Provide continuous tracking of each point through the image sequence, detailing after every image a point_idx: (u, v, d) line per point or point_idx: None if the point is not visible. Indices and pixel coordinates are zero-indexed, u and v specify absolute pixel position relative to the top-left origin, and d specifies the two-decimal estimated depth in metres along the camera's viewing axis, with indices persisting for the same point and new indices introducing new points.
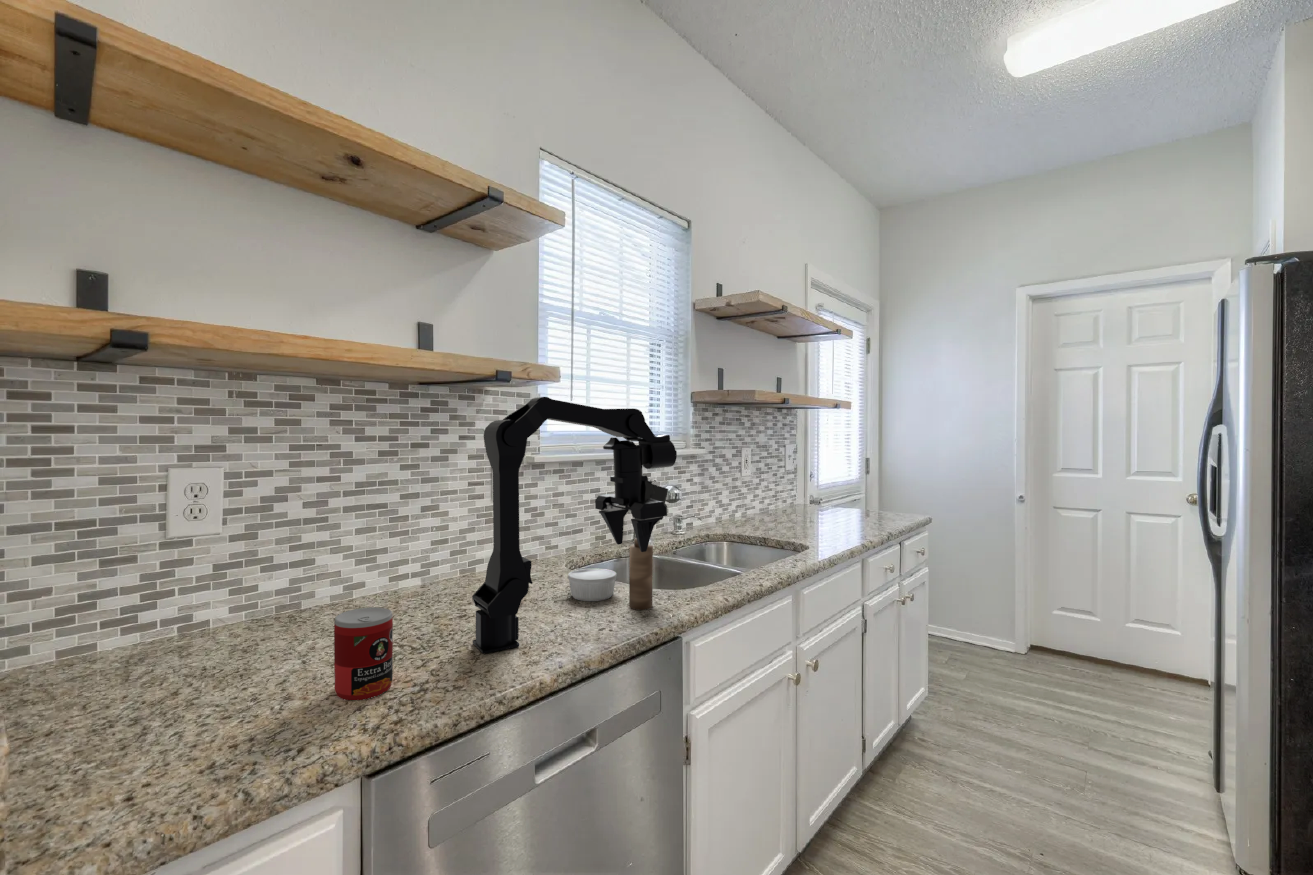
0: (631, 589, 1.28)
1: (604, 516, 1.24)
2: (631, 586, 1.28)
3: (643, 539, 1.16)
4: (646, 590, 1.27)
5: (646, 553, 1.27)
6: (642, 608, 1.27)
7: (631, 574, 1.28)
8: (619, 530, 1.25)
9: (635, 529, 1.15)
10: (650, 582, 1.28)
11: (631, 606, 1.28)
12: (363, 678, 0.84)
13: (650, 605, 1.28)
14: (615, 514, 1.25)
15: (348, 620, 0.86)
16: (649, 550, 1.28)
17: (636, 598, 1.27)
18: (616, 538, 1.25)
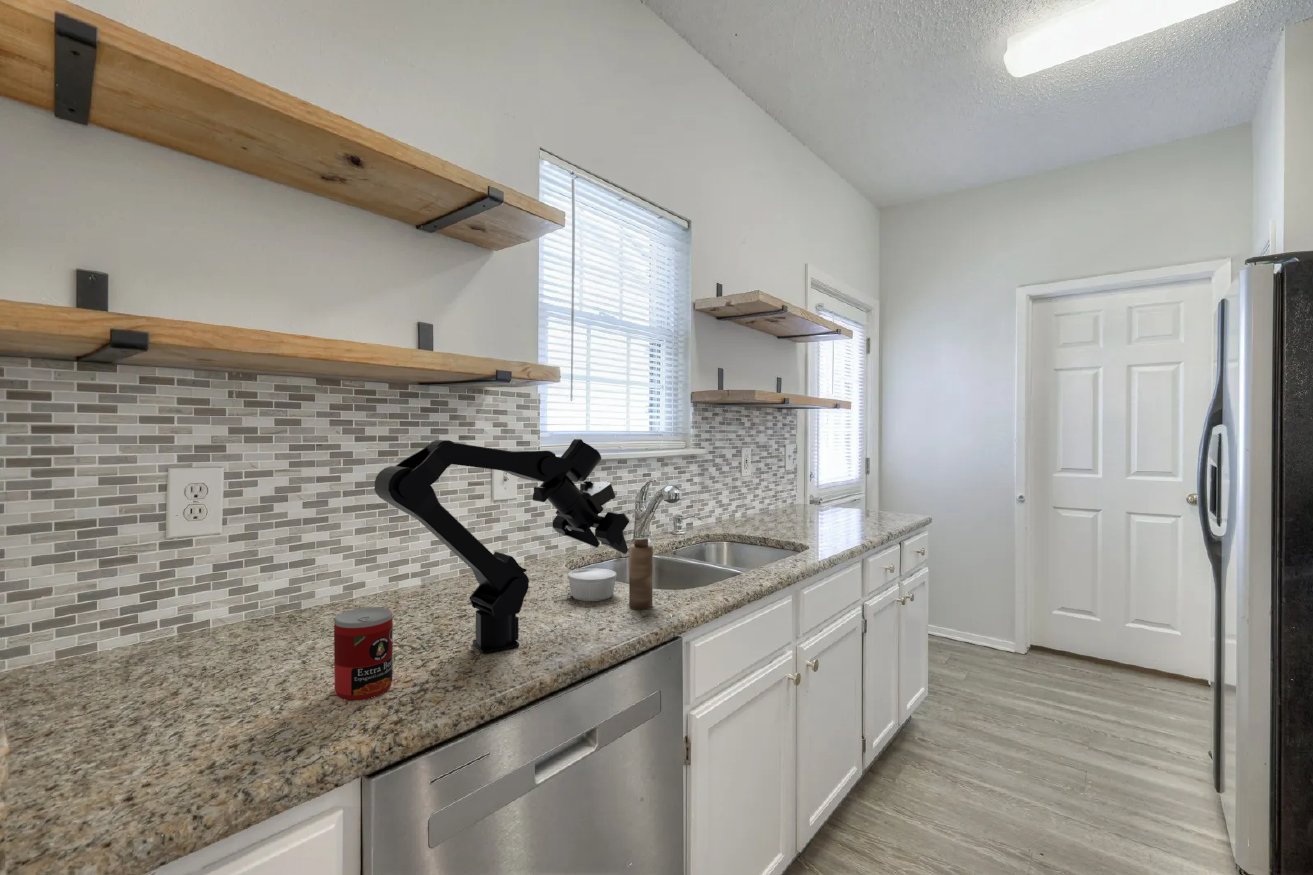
0: (631, 589, 1.28)
1: (571, 537, 1.24)
2: (631, 586, 1.28)
3: (621, 546, 1.18)
4: (646, 590, 1.27)
5: (646, 553, 1.27)
6: (642, 608, 1.27)
7: (631, 574, 1.28)
8: (590, 536, 1.26)
9: (610, 547, 1.16)
10: (650, 582, 1.28)
11: (631, 606, 1.28)
12: (363, 678, 0.84)
13: (650, 605, 1.28)
14: None
15: (348, 620, 0.86)
16: (649, 550, 1.28)
17: (636, 598, 1.27)
18: (592, 544, 1.26)
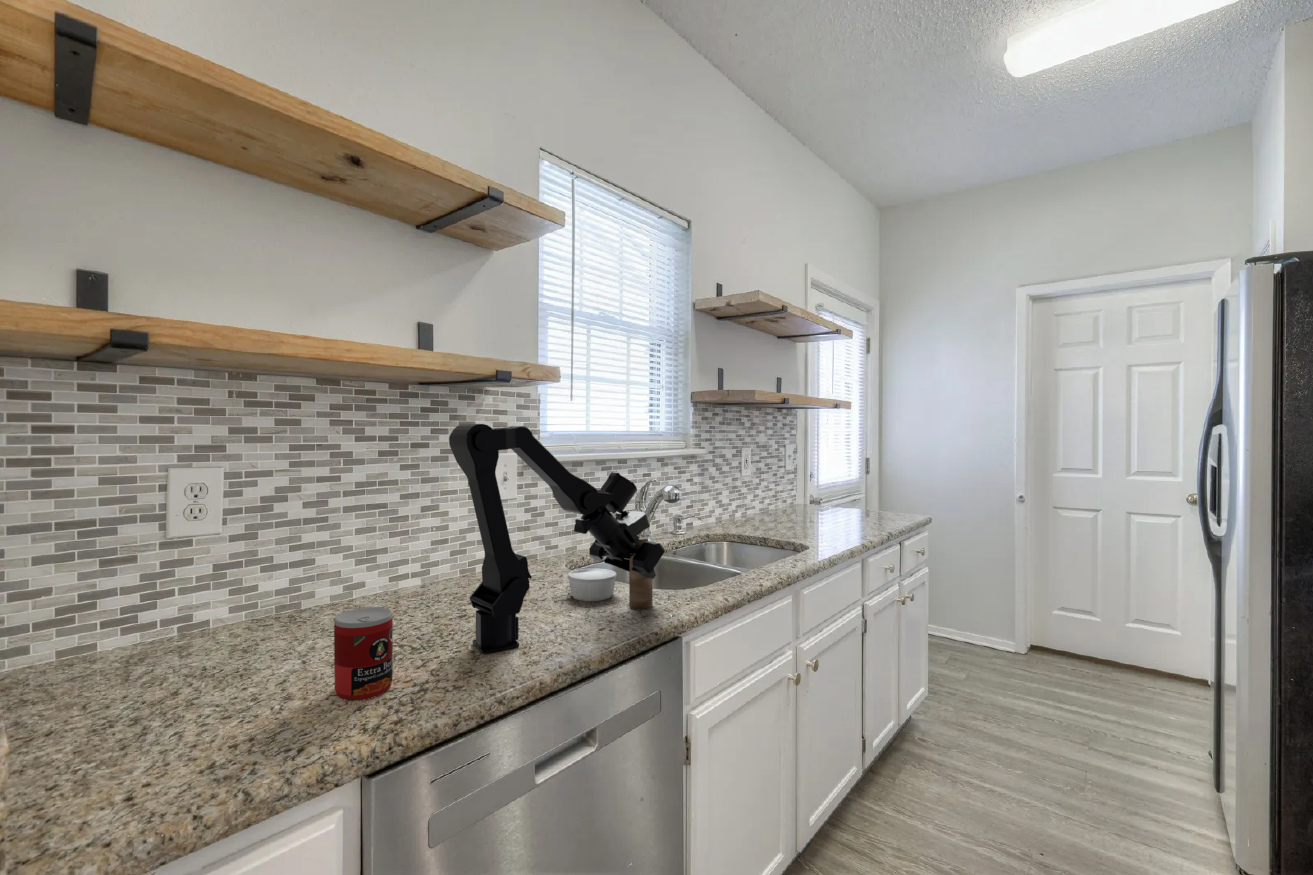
0: (631, 589, 1.28)
1: (612, 565, 1.29)
2: (631, 585, 1.28)
3: (649, 572, 1.26)
4: (646, 590, 1.27)
5: None
6: (642, 608, 1.27)
7: (631, 574, 1.28)
8: None
9: None
10: (650, 582, 1.28)
11: (631, 606, 1.28)
12: (363, 678, 0.84)
13: (650, 605, 1.28)
14: None
15: (348, 620, 0.86)
16: None
17: (636, 598, 1.27)
18: None
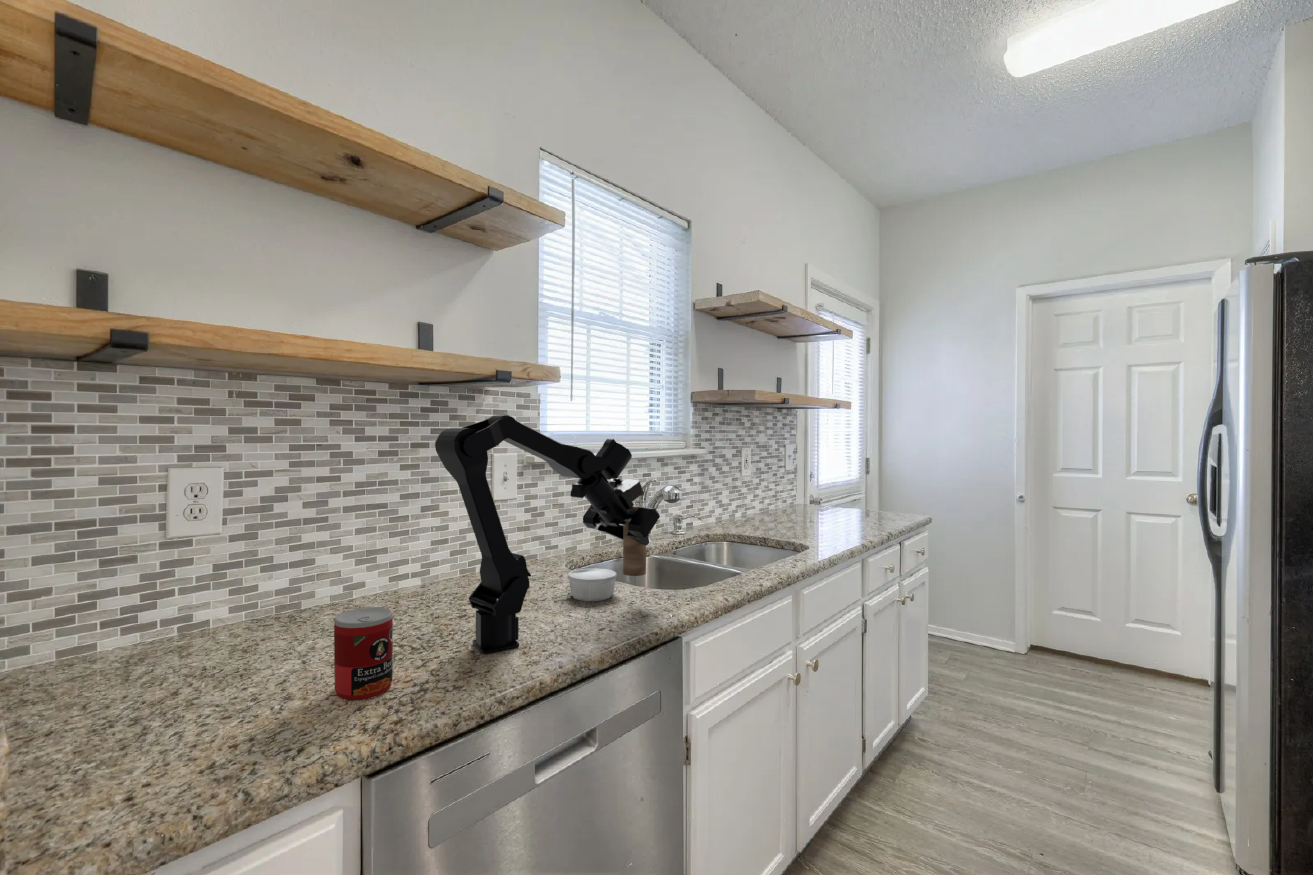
0: (625, 556, 1.29)
1: (606, 532, 1.30)
2: (625, 552, 1.29)
3: (643, 538, 1.28)
4: (640, 557, 1.29)
5: None
6: (636, 574, 1.28)
7: (625, 541, 1.29)
8: None
9: (634, 539, 1.26)
10: (644, 549, 1.30)
11: (625, 573, 1.29)
12: (363, 678, 0.84)
13: (644, 572, 1.30)
14: None
15: (348, 620, 0.86)
16: None
17: (630, 565, 1.28)
18: None
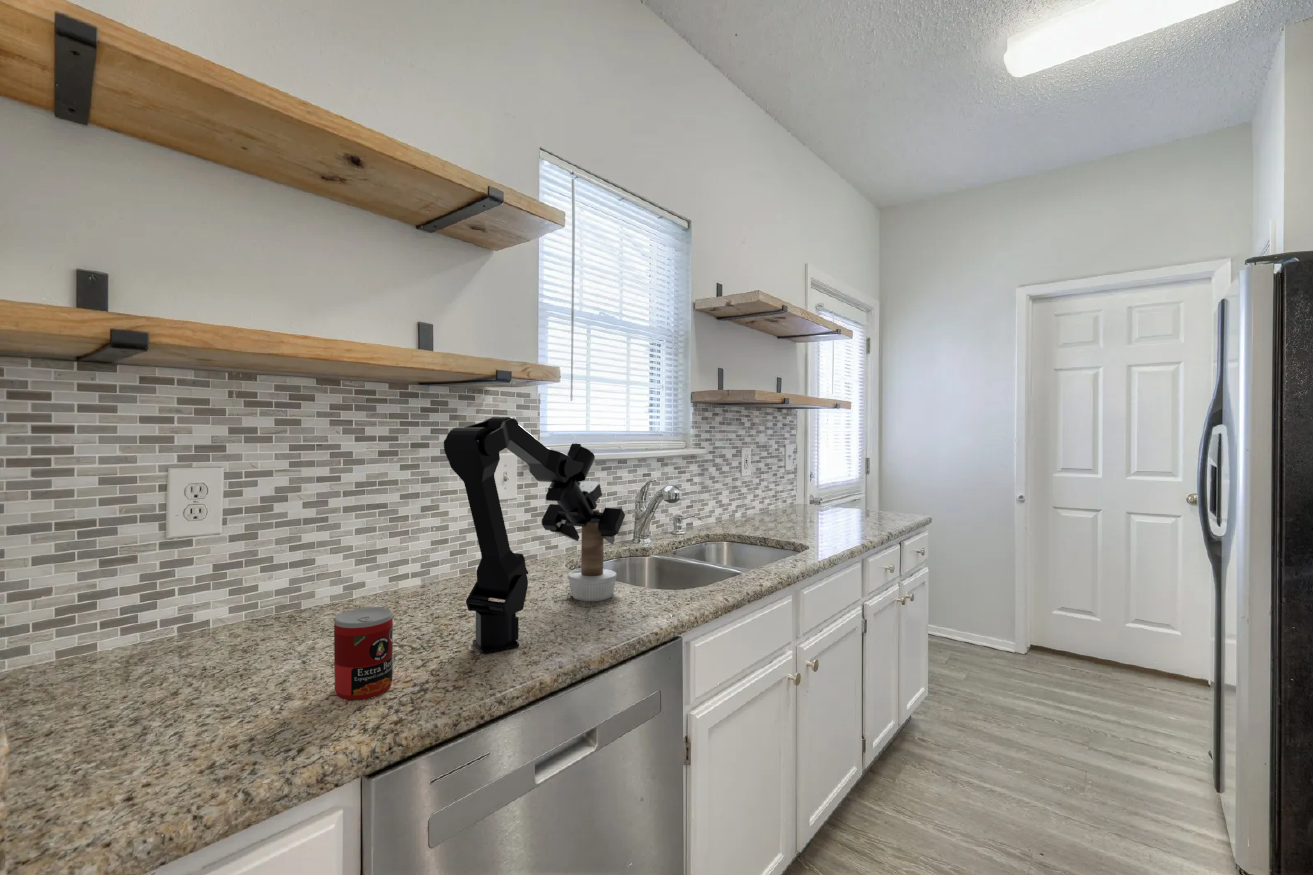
0: (585, 557, 1.35)
1: (560, 533, 1.35)
2: (586, 554, 1.35)
3: (612, 537, 1.34)
4: (600, 557, 1.36)
5: None
6: (597, 574, 1.35)
7: (585, 543, 1.35)
8: (573, 531, 1.39)
9: (606, 538, 1.32)
10: (602, 549, 1.37)
11: (585, 573, 1.35)
12: (363, 678, 0.84)
13: (602, 571, 1.37)
14: (565, 524, 1.36)
15: (348, 620, 0.86)
16: None
17: (591, 565, 1.35)
18: (575, 538, 1.39)
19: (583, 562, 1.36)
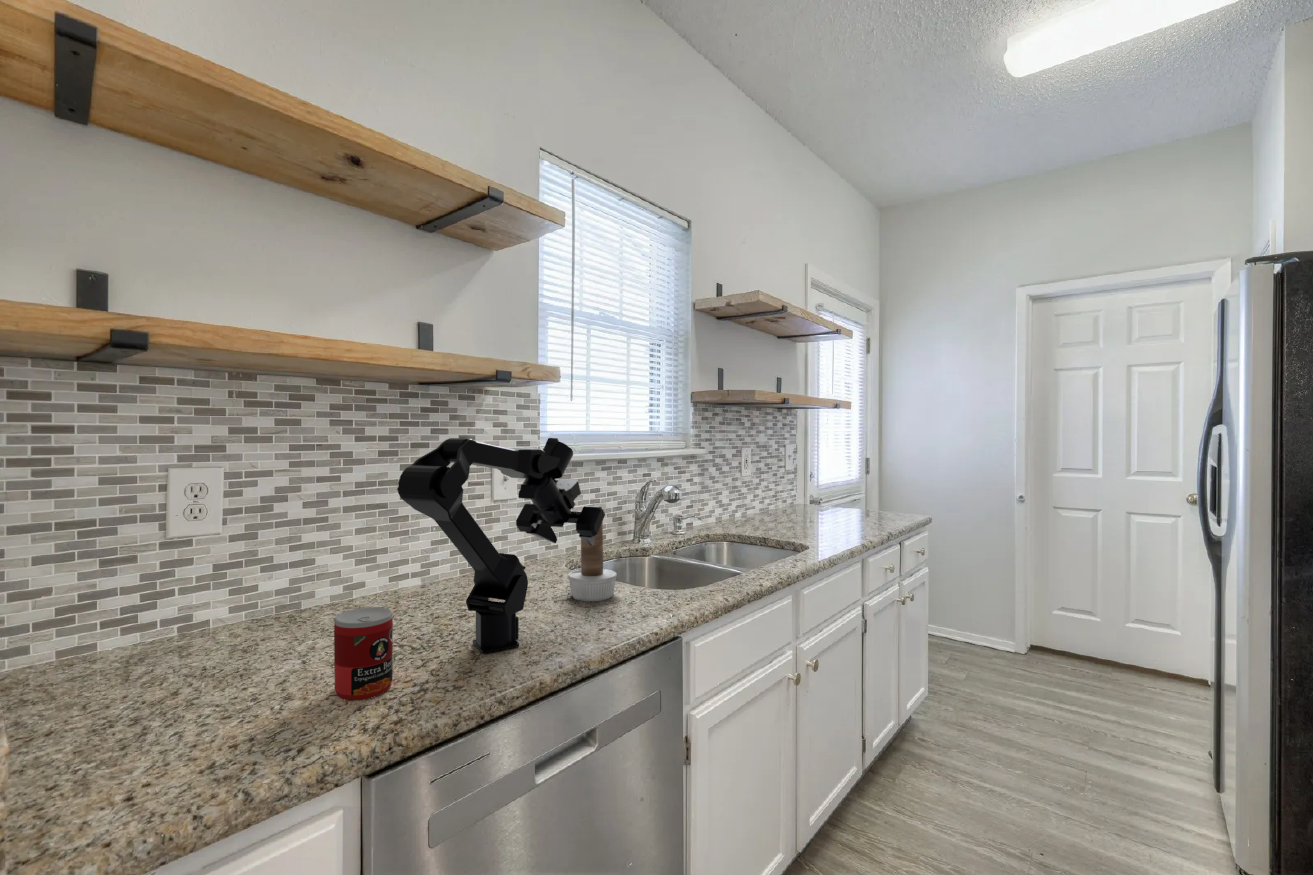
0: (585, 557, 1.35)
1: (535, 534, 1.26)
2: (585, 554, 1.35)
3: (591, 539, 1.26)
4: (599, 557, 1.36)
5: None
6: (597, 574, 1.35)
7: (585, 543, 1.35)
8: (551, 533, 1.30)
9: (585, 539, 1.23)
10: (602, 549, 1.37)
11: (585, 573, 1.35)
12: (363, 678, 0.84)
13: (602, 571, 1.37)
14: (542, 525, 1.28)
15: (348, 620, 0.86)
16: None
17: (591, 565, 1.35)
18: (552, 540, 1.30)
19: (583, 562, 1.36)
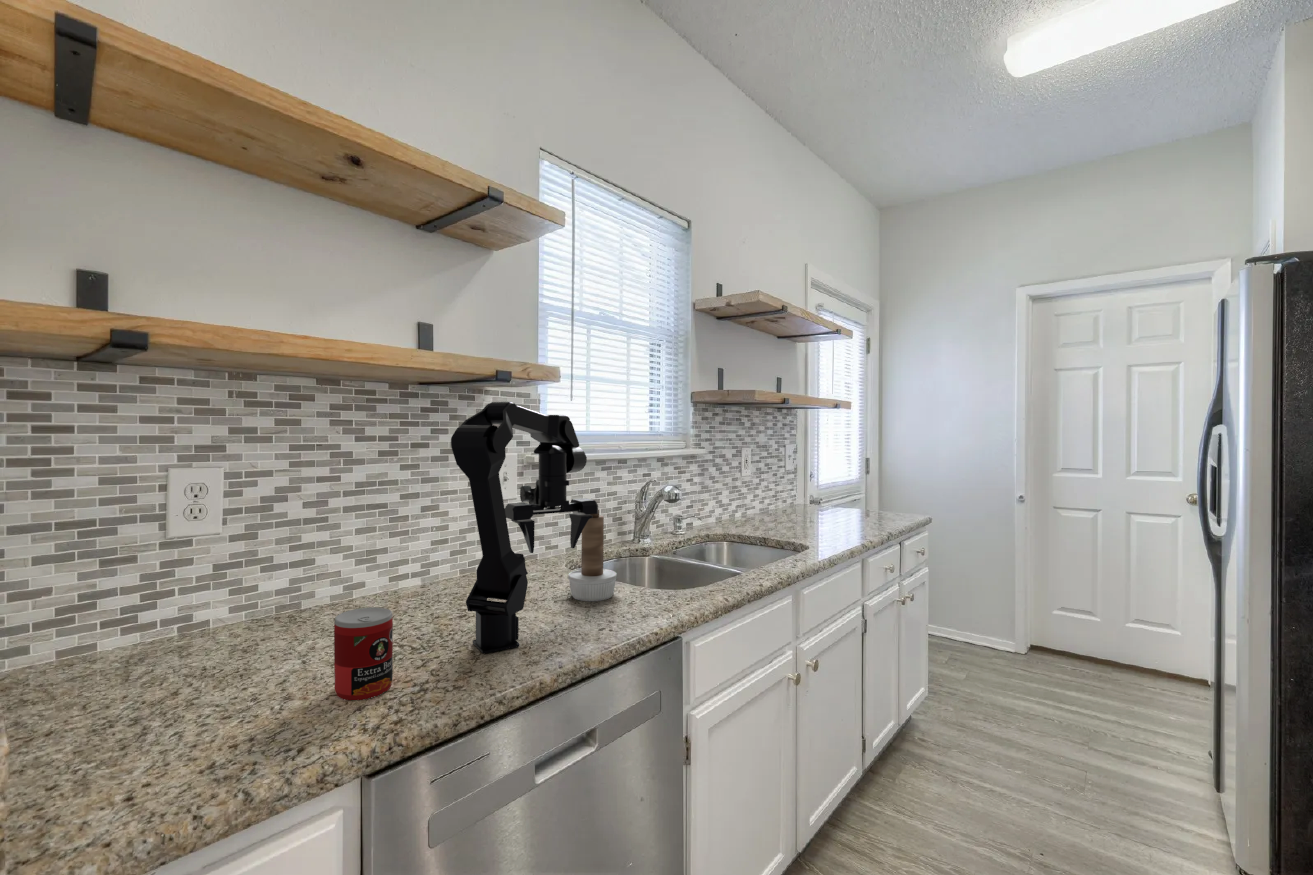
0: (585, 558, 1.35)
1: (531, 525, 1.19)
2: (585, 554, 1.35)
3: None
4: (600, 557, 1.36)
5: (600, 522, 1.35)
6: (597, 574, 1.35)
7: (585, 543, 1.35)
8: None
9: (581, 526, 1.25)
10: (602, 550, 1.37)
11: (585, 574, 1.35)
12: (363, 678, 0.84)
13: (602, 571, 1.37)
14: None
15: (348, 620, 0.86)
16: (602, 520, 1.36)
17: (591, 565, 1.35)
18: (533, 546, 1.21)
19: (583, 562, 1.36)
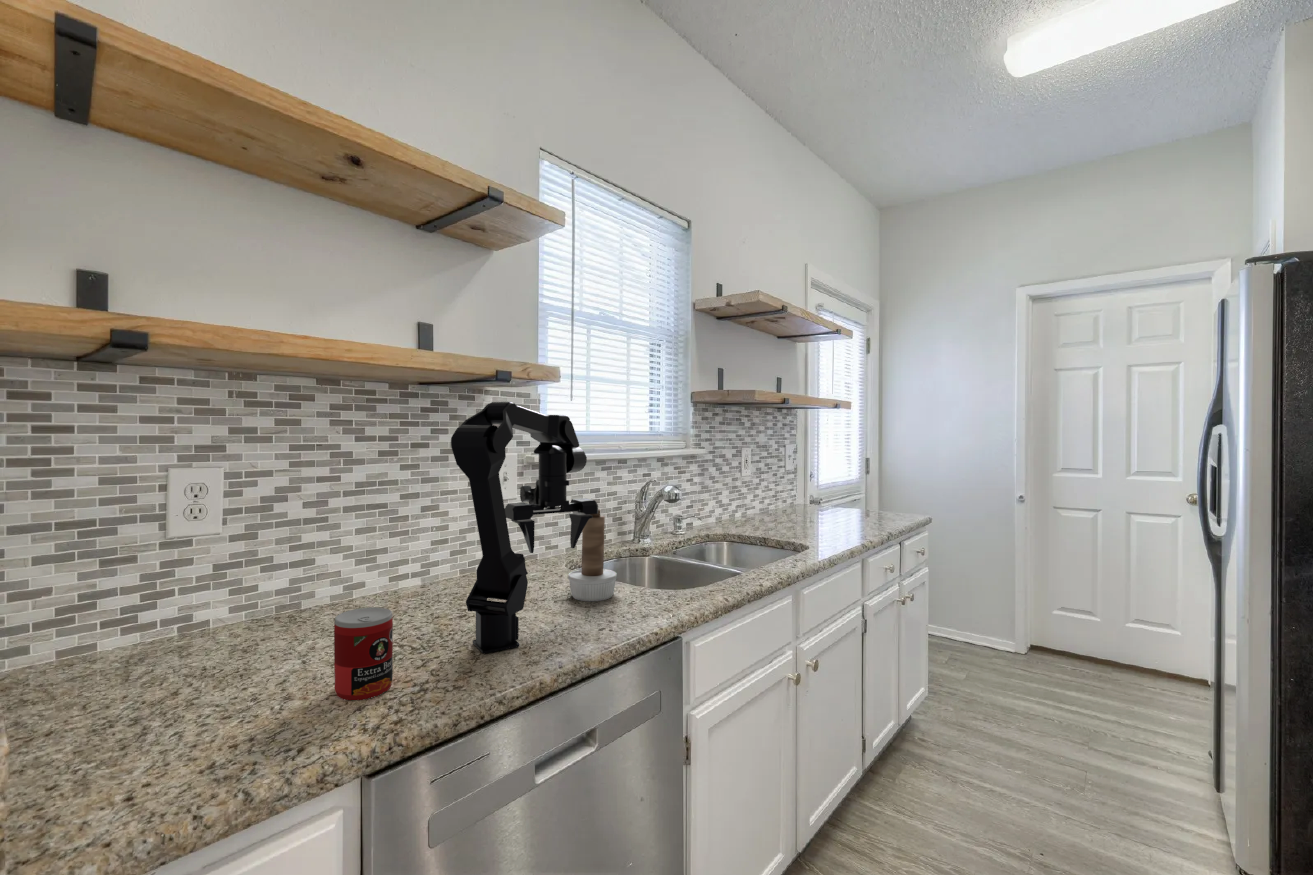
0: (586, 557, 1.35)
1: (531, 525, 1.19)
2: (586, 554, 1.35)
3: None
4: (600, 557, 1.36)
5: (601, 522, 1.36)
6: (597, 574, 1.35)
7: (586, 543, 1.35)
8: None
9: (581, 526, 1.25)
10: (603, 549, 1.37)
11: (585, 573, 1.35)
12: (363, 678, 0.84)
13: (602, 571, 1.37)
14: None
15: (348, 620, 0.86)
16: (603, 519, 1.36)
17: (591, 565, 1.35)
18: (533, 546, 1.21)
19: (583, 562, 1.36)
